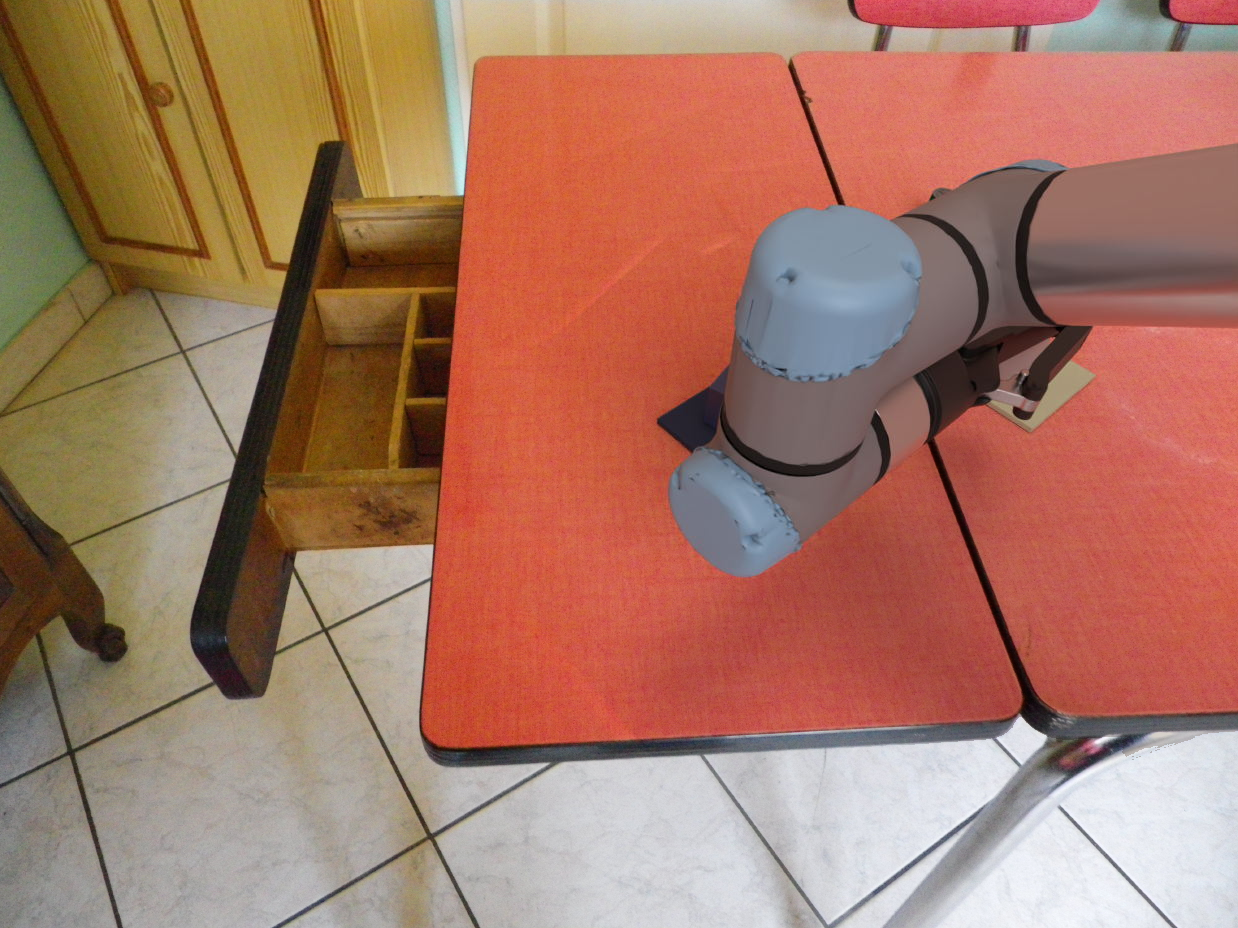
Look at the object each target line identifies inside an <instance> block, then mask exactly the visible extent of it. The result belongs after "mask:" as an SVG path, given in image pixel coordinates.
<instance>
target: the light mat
mask: <svg viewBox="0 0 1238 928" xmlns="http://www.w3.org/2000/svg"><path fill="white" fill-rule="evenodd" d="M1095 377H1096V373H1094V372H1092V371H1090V370H1089V369H1087V368H1085V367H1083V366H1082V365H1080V364H1078V363H1077V362H1075V361H1073V360H1072V359H1071V360H1070V361H1069V362H1068V363H1067V364H1066V365H1065V366H1064V367H1063V369H1062V370H1061V371H1060V372H1059V373H1058V374H1057V375H1056V376H1055V377H1054V379H1053V380H1052V381H1051V382H1050V383H1049V384H1048V389H1047V391H1046V393H1045V395H1044V396H1043V398H1042V400H1041V402H1040V403H1039V405H1038V407H1037V409H1036V410H1035V412H1034V414H1033V415H1032V417H1031V419H1029V420H1021V419H1018V418H1017V417H1015V416H1014V414H1013V412H1012V410H1013V406H1012V405H1008V404H1005V403H1002V402H998V401H995V400H991V401H990V402H989V403H988V404H986V405H985V406H987V407H989V408H990V409H992V410H993V411H995V412H997V413H998V414H1000V415H1001V416H1003V417H1004V418H1006V419H1008V420H1009V421H1011V422H1012V423H1014V424H1015V425H1017V426H1019V428H1021V429H1022V430H1024V431H1026V432H1027V433H1029V434H1032V433H1033V432H1034V431H1035V430H1036V429H1037V428H1038V427H1039V426H1041V425H1042V424H1043V423H1044V422H1045V421H1046V420H1048V419H1049V418H1050V417H1051V416H1053V414H1055V413H1056V412H1057V411H1058V410H1059V409H1060V408H1061V407H1063V406H1064V405H1065V404H1066V403H1068V402H1069V401H1070V400H1071V399H1072V398H1073V397H1074V396H1075V395H1077V394H1078V393H1079V392H1081V391H1082V389H1084V388H1085V387H1086V386H1087V385H1088V384H1090V383H1091V382H1093V380H1094V379H1095Z"/></svg>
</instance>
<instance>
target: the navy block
mask: <svg viewBox="0 0 1238 928" xmlns="http://www.w3.org/2000/svg"><path fill="white" fill-rule="evenodd" d="M728 370H729V364H728V365H726V367H725V368H724V369H723V371H722V372H720V374H719V375H718V376H717V377H716V378H715V380H714V381H712V382H711V384H710V385H709V386H708V387H709V390H708V397H707V404H706V410H705V417H704V423H706V424H708V425H710V426H712V427H714V428H716V429H717V426H718V419H719V413H720V409H721V405H722V403H723V400H724V395H725V389H726V383H727V376H728Z"/></svg>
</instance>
